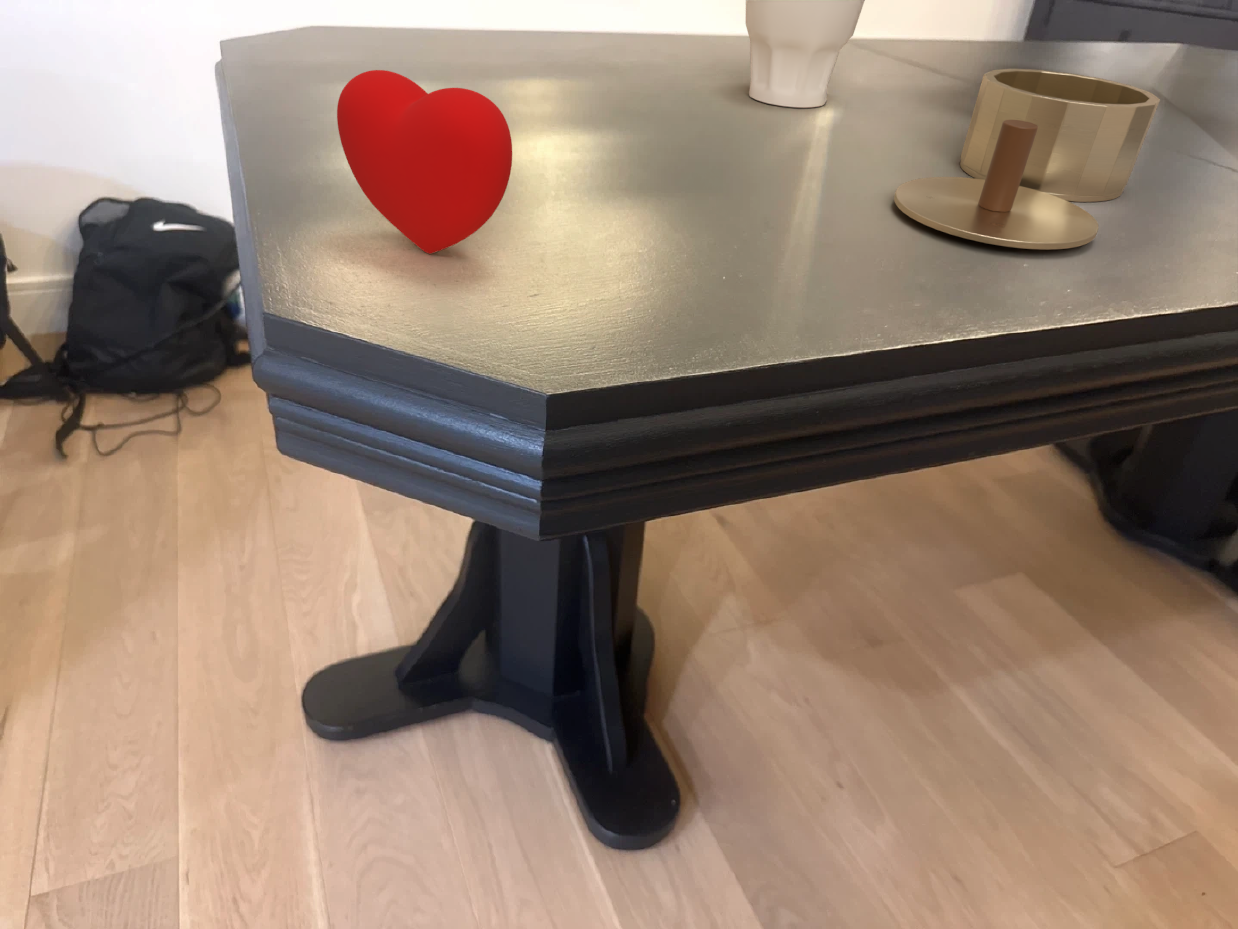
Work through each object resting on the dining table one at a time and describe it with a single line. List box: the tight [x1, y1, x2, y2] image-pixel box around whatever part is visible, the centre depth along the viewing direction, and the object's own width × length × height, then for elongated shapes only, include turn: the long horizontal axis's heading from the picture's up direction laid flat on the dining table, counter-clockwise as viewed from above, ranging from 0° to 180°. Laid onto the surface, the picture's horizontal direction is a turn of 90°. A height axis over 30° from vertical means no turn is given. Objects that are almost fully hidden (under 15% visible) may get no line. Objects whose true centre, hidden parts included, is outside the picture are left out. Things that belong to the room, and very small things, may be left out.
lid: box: [893, 120, 1099, 251], centre depth 65 cm, size 15×15×7 cm
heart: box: [336, 69, 513, 254], centre depth 51 cm, size 12×5×10 cm, turn 58°
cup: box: [745, 0, 866, 109], centre depth 94 cm, size 12×12×11 cm
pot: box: [959, 68, 1161, 203], centre depth 76 cm, size 14×14×8 cm
